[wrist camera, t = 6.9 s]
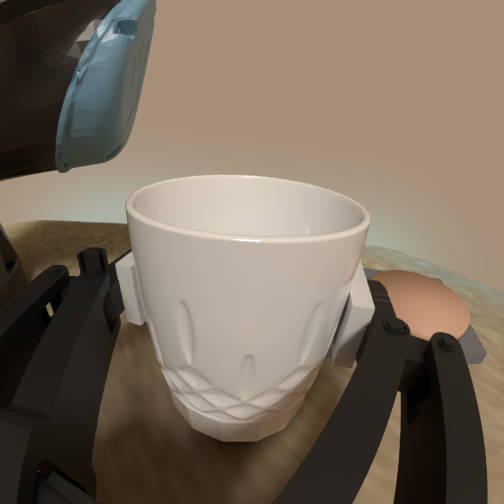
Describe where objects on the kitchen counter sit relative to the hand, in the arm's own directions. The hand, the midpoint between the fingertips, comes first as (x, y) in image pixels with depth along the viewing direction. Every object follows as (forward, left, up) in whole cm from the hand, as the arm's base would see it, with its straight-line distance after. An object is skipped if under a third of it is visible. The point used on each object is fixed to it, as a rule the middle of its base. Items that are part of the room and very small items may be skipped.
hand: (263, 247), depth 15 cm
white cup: (0, -5, -6) cm, 8 cm away
